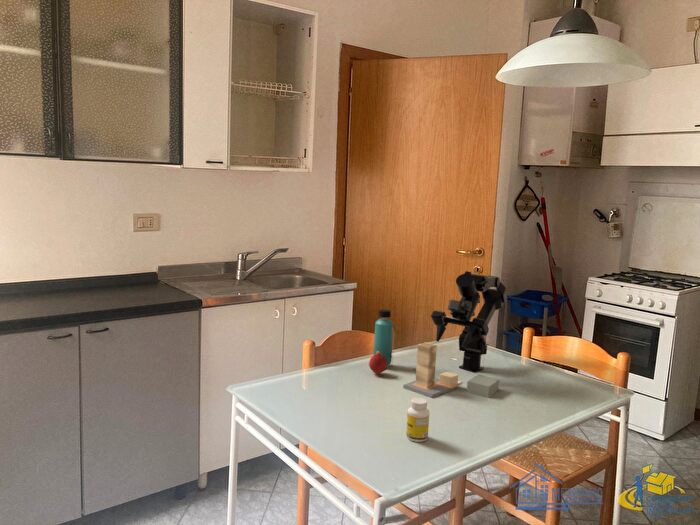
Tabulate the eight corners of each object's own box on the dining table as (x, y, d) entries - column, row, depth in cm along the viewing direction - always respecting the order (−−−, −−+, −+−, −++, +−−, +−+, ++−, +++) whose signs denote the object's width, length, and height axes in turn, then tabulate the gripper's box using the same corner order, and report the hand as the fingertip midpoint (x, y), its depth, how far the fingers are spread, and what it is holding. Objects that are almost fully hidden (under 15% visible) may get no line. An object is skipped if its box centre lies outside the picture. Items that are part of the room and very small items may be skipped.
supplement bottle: (404, 433, 149) (406, 396, 147) (425, 433, 149) (427, 396, 148) (408, 442, 143) (410, 404, 142) (429, 442, 144) (432, 404, 143)
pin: (422, 381, 186) (425, 342, 184) (434, 385, 183) (437, 344, 181) (415, 384, 182) (418, 344, 181) (426, 388, 180) (429, 347, 178)
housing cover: (477, 384, 189) (478, 374, 188) (498, 389, 185) (499, 379, 185) (466, 392, 181) (467, 381, 181) (488, 397, 178) (489, 386, 177)
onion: (386, 372, 196) (387, 349, 195) (385, 378, 191) (387, 354, 190) (369, 371, 197) (370, 348, 196) (367, 376, 191) (369, 353, 190)
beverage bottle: (391, 369, 200) (395, 312, 197) (372, 368, 200) (375, 311, 197) (390, 364, 206) (394, 308, 204) (372, 363, 206) (375, 307, 204)
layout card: (444, 377, 195) (444, 375, 195) (462, 382, 190) (462, 381, 190) (435, 380, 191) (435, 378, 191) (453, 385, 187) (453, 384, 187)
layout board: (431, 378, 193) (432, 366, 193) (461, 387, 185) (462, 375, 185) (403, 387, 182) (404, 375, 182) (433, 398, 175) (434, 385, 174)
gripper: (435, 286, 195) (416, 324, 187) (488, 294, 184) (470, 335, 177) (444, 306, 202) (427, 343, 195) (495, 315, 191) (479, 355, 184)
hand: (449, 343), depth 187 cm, fingers open, 9 cm apart
